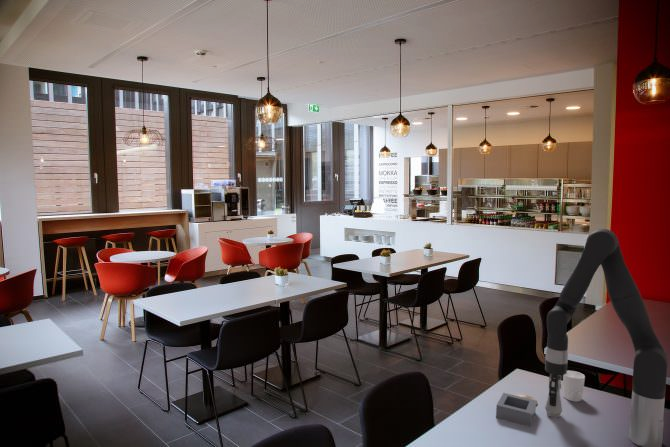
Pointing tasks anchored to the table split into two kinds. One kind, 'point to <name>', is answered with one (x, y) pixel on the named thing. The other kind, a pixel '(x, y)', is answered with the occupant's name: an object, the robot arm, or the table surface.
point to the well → (516, 409)
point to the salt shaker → (557, 409)
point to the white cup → (573, 385)
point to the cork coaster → (527, 397)
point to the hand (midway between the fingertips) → (553, 401)
